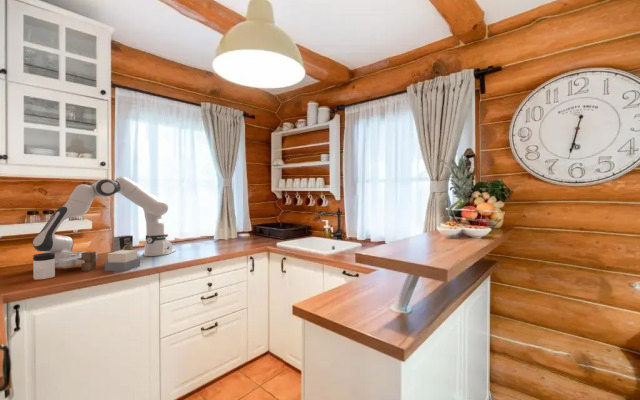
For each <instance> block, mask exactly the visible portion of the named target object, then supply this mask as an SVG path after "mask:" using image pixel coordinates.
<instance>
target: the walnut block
mask: <svg viewBox="0 0 640 400" xmlns="http://www.w3.org/2000/svg"><path fill="white" fill-rule="evenodd" d="M96 253H97V252H96V251H85V252H84V253H81V260H86V263H80V264H81V268H80V269H81V271H82V272H90V271H94V270H96V269H97V259H96Z"/></svg>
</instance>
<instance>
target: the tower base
mask: <svg viewBox="0 0 640 400" xmlns="http://www.w3.org/2000/svg"><path fill="white" fill-rule="evenodd" d="M138 267H141V257H140V258H139V257H137V259H134V260H131V261H128V262H125V263H123V262H108V261H105V262H104V271H106V272H107V271H108V272H109V271H110V272H112V271H113V272H126V271H129V270H132V269H135V268H138Z"/></svg>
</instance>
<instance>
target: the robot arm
mask: <svg viewBox="0 0 640 400" xmlns="http://www.w3.org/2000/svg"><path fill="white" fill-rule="evenodd" d="M116 193H118V194H121V195H122V196H123V197H125V199H127V200H129V202H130V201H131V202H132V203H133V204H135V205H137V206H138V207H140V208H142V209H143V213H144V218H145V226H146V231H145V233H146V235H145V243H144V250H143V253H142V254H143V256H145V257H157V256H165V255H169V254H172V253H174V252H176V251H177V249H175V248H173V244H172V242H170V241H169V240H167V238H168V237H169V234H168V233H165V223H164V220H163V215H165V214H166V213H167V212H168V210H169V206H168V204H167V203H166V202H164V201H163V200H161V199H160V198H158V197H157V196H155V195H153V194H152V193H150V192H149V191H147V190H145V189H144V188H143V187H141V186H140V185H139V184H137V183H136V182H135V181H133V180H131V179H130V178H128V177H126V176H119V177H116V179H114V180H113V179H105V178H102V179H98V180H95V181H94V182H92V183H91V184H86V183H85V184H83V183H82V184H78V185H76V187H75V188H74V189H73V191H72V192H71V194H70V196H69V198H68V200H67V201H66V203H64V205H62V206H60V207H58V208H56V210H55V211H54V212H53V214H51V216H50V218H49V219H48V220H47V222H46V223H45V225H44V226H43V228H42V229H41V230H40V232H38V234H36V236H35V237H34V238H33V240H32V246H33V248H34V249H35V250H36V251H37V252H42V253H55V268H72V267H74V266H76V265H80V264H81V263H86V260H81V253H84V252H86V251H84V250H81V251H72V250H73V247H74V240H73V238H72V237H70V236H67V235H60V234H55V233H56V232H57V231H58V229H59V227H60V226H61V224H63V222H64V221H65V220H68V219H72V218H78V217H81V216H84V215H86V214H87V213H88V212H89V211H90V208H91V206H92V204H93V202H94V200H95V198H97V197H103V198H104V197H110V196H114V195H115V194H116ZM96 260H98V253H97V252H96Z"/></svg>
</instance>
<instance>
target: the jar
mask: <svg viewBox="0 0 640 400" xmlns="http://www.w3.org/2000/svg"><path fill="white" fill-rule="evenodd" d="M32 261H33V263H32V264H33V267H32V268H33V273H32V274H33V280H34V281H35V280H46V279H51V278H55V277H56V267H55V253H43V252H41V253H36V254H33V255H32Z"/></svg>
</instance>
